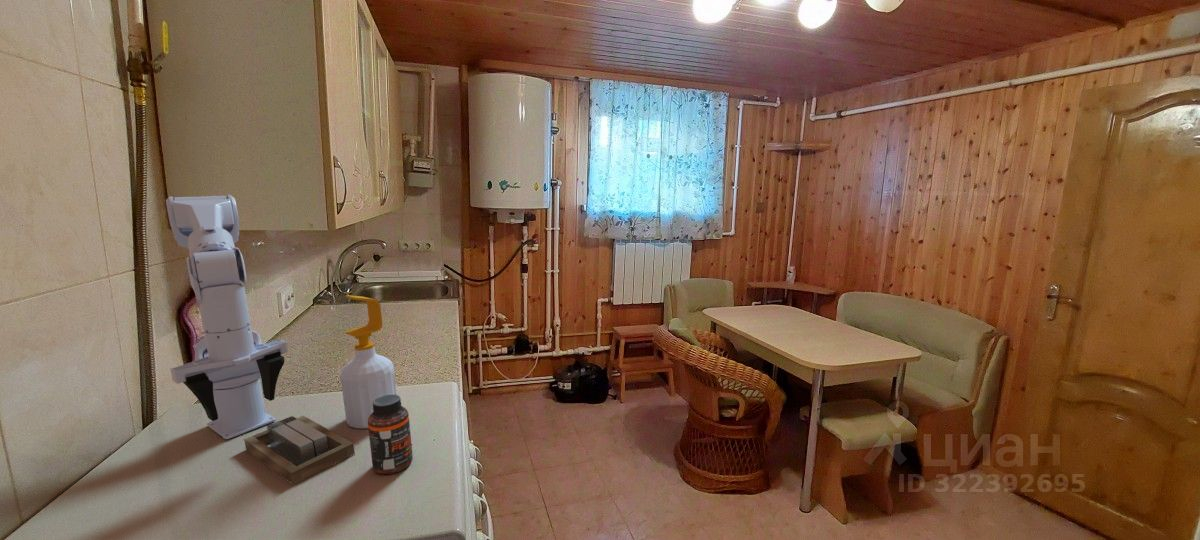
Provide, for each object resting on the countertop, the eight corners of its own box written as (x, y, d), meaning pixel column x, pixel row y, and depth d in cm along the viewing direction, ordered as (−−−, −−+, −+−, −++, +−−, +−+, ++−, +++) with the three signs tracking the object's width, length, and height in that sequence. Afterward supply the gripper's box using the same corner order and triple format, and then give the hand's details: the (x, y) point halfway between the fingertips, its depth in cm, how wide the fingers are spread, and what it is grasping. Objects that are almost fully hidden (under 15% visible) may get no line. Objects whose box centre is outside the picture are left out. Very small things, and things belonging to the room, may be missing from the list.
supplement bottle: (398, 478, 71) (390, 410, 69) (364, 474, 72) (355, 407, 70) (420, 455, 77) (414, 392, 74) (389, 452, 78) (381, 389, 76)
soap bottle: (337, 421, 88) (320, 296, 84) (382, 402, 96) (369, 286, 91) (362, 435, 83) (345, 303, 79) (408, 413, 91) (395, 292, 86)
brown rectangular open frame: (246, 449, 79) (244, 439, 79) (304, 425, 87) (303, 415, 87) (293, 484, 70) (291, 473, 69) (354, 454, 77) (353, 443, 77)
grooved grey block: (270, 447, 80) (266, 426, 79) (295, 436, 83) (292, 416, 83) (303, 469, 74) (300, 447, 73) (329, 457, 77) (326, 435, 76)
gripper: (175, 346, 64) (193, 436, 66) (291, 319, 75) (303, 396, 78) (159, 337, 67) (177, 422, 70) (272, 312, 79) (283, 386, 82)
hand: (242, 408), depth 74 cm, fingers open, 7 cm apart
